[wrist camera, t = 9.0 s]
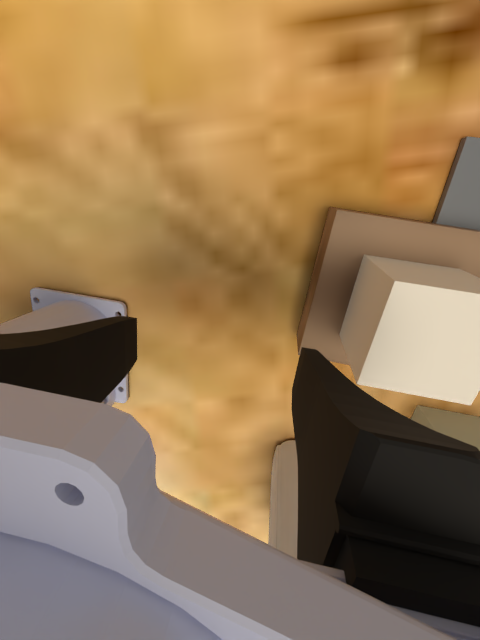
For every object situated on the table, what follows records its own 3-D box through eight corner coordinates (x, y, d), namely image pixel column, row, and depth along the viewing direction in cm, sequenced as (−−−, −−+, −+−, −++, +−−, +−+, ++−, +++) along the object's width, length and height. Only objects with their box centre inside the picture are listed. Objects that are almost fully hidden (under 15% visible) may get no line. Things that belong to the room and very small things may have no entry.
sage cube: (457, 465, 23) (501, 527, 19) (395, 452, 24) (422, 510, 19) (484, 417, 22) (539, 472, 17) (416, 404, 22) (452, 455, 17)
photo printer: (313, 522, 28) (334, 737, 16) (269, 516, 28) (260, 720, 17) (322, 440, 24) (358, 640, 13) (272, 435, 25) (263, 623, 13)
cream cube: (422, 349, 17) (470, 405, 13) (339, 334, 18) (356, 383, 13) (460, 268, 15) (533, 302, 11) (363, 254, 15) (394, 281, 11)
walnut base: (419, 357, 21) (439, 383, 18) (296, 334, 21) (298, 354, 19) (482, 230, 17) (519, 238, 14) (329, 206, 17) (337, 209, 15)
